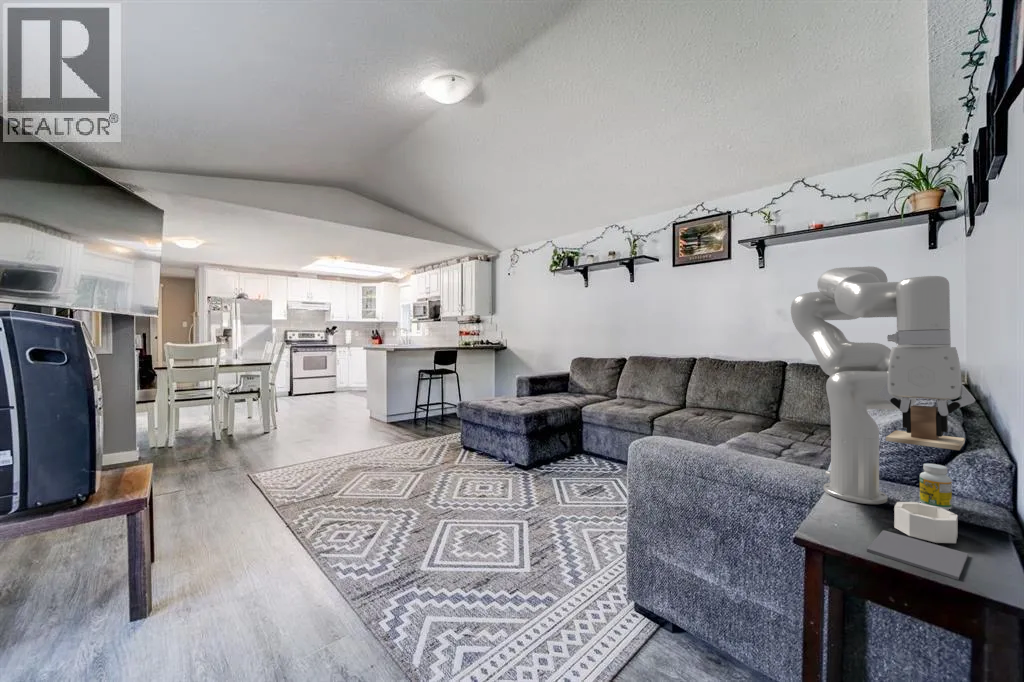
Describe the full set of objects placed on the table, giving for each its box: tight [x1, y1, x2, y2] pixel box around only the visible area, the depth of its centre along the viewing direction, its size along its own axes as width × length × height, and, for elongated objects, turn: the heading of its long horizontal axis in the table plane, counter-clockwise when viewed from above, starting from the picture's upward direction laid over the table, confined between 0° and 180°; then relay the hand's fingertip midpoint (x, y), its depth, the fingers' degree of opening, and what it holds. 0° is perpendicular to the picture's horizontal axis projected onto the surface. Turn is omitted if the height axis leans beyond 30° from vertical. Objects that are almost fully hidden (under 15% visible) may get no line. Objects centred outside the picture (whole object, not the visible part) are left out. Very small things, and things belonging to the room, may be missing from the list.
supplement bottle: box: [919, 462, 953, 511], centre depth 100 cm, size 5×5×10 cm
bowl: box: [893, 501, 959, 544], centre depth 87 cm, size 9×9×4 cm
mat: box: [866, 529, 969, 581], centre depth 79 cm, size 12×12×1 cm
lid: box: [885, 404, 966, 451], centre depth 82 cm, size 10×10×7 cm
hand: (924, 432), depth 82 cm, fingers closed on lid, 3 cm apart
